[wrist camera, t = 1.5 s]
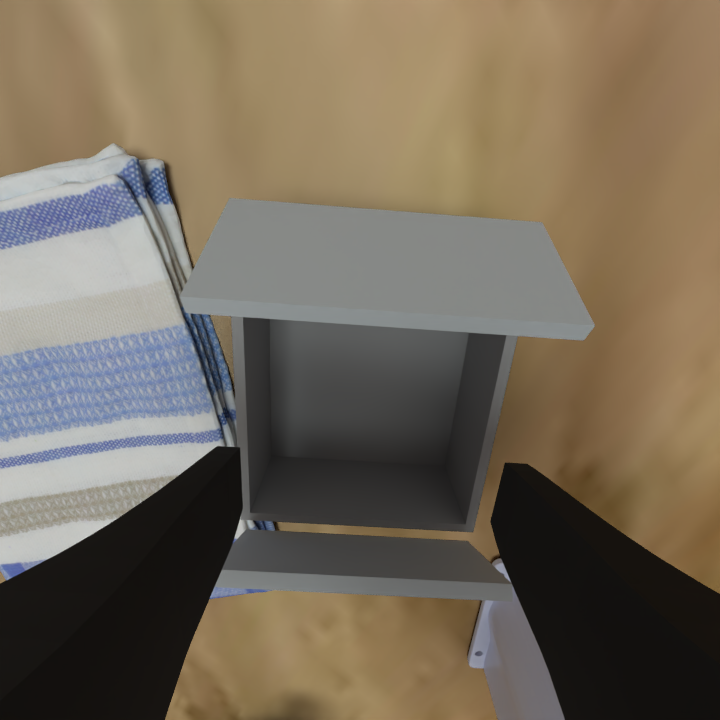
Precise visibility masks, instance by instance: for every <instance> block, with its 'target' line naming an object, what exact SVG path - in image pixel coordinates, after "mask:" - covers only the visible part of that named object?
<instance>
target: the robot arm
mask: <svg viewBox="0 0 720 720" xmlns="http://www.w3.org/2000/svg"><path fill="white" fill-rule="evenodd" d="M242 510H243V498H242V477H241V455H240V447H226V446H217V447H215V448H214V449H212V450H211V451H210V452H208V453H207V454H206V455H205V456H203V457H202V458H201V459H199V460H198V461H197V462H195V463H194V464H193V465H192V466H190V467H189V468H188V469H186V470H185V471H184V472H182V473H181V474H180V475H178V476H177V477H176V478H174V479H173V480H172V481H170V482H169V483H168V484H166V485H165V486H164V487H162V488H161V489H160V490H158V491H157V492H156V493H154V494H153V495H151V496H150V497H148V498H147V499H145V500H144V501H142V502H141V503H139V504H138V505H137V506H135V507H134V508H132V509H131V510H129V511H128V512H126V513H125V514H123V515H122V516H120V517H119V518H117V519H116V520H114V521H113V522H111V523H110V524H108V525H106V526H105V527H103V528H102V529H100V530H98V531H97V532H95V533H93V534H92V535H90V536H88V537H87V538H85V539H83V540H81V541H80V542H78V543H76V544H75V545H73V546H71V547H69V548H68V549H66V550H64V551H62V552H60V553H59V554H57V555H55V556H53V557H51V558H49V559H47V560H45V561H43V562H41V563H39V564H37V565H36V566H34V567H32V568H30V569H28V570H26V571H24V572H22V573H20V574H18V575H16V576H14V577H12V578H10V579H8V580H6V581H4V582H3V583H1V584H0V720H165V717H166V714H167V711H168V708H169V705H170V702H171V699H172V696H173V693H174V690H175V687H176V684H177V681H178V678H179V675H180V672H181V669H182V666H183V663H184V660H185V657H186V654H187V652H188V649H189V647H190V644H191V641H192V639H193V636H194V634H195V631H196V629H197V627H198V624H199V622H200V620H201V617H202V615H203V613H204V610H205V608H206V606H207V603H208V601H209V599H210V596H211V594H212V592H213V589H214V587H215V585H216V582H217V580H218V578H219V575H220V573H221V571H222V568H223V566H224V564H225V561H226V559H227V557H228V554H229V552H230V549H231V547H232V544H233V541H234V538H235V534H236V531H237V528H238V524H239V521H240V517H241V514H242ZM491 525H492V529H493V532H494V536H495V540H496V543H497V547H498V550H499V553H500V556H501V558H500V559H496V560H494V561H493V563H492V565H493V566H494V567H495V568H496V569H497V570H498V571H499V572H500V573H501V574H502V575H503V576H504V577H505V578H506V579H508V580H509V581H510V582H511V583H512V593H513V602H509V601H489V600H482V603H481V607H480V611H479V615H478V619H477V623H476V626H475V630H474V634H473V638H472V642H471V646H470V650H469V653H468V657H467V660H468V664H469V665H470V666H471V667H472V668H484V672H485V675H486V679H487V683H488V686H489V690H490V693H491V697H492V701H493V704H494V708H495V711H496V715H497V719H498V720H720V594H719V593H717V592H715V591H714V590H712V589H710V588H708V587H707V586H705V585H703V584H701V583H700V582H698V581H696V580H695V579H693V578H692V577H690V576H688V575H687V574H685V573H683V572H682V571H680V570H678V569H677V568H675V567H673V566H672V565H670V564H668V563H667V562H665V561H664V560H662V559H660V558H659V557H657V556H656V555H654V554H653V553H651V552H650V551H648V550H646V549H645V548H644V547H642V546H641V545H639V544H638V543H636V542H635V541H633V540H632V539H630V538H629V537H627V536H626V535H624V534H623V533H621V532H620V531H619V530H617V529H616V528H614V527H613V526H612V525H610V524H609V523H607V522H606V521H604V520H603V519H602V518H600V517H599V516H598V515H596V514H595V513H593V512H592V511H591V510H589V509H588V508H587V507H585V506H584V505H583V504H581V503H580V502H579V501H577V500H576V499H575V498H573V497H572V496H571V495H569V494H568V493H567V492H565V491H564V490H563V489H561V488H560V487H559V486H557V485H556V484H555V483H553V482H552V481H551V480H549V479H548V478H547V477H545V476H544V475H543V474H541V473H540V472H538V471H537V470H536V469H534V468H533V467H531V466H530V465H528V464H520V463H505V465H504V469H503V473H502V477H501V481H500V485H499V489H498V493H497V497H496V501H495V505H494V509H493V513H492V517H491Z"/></svg>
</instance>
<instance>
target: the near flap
mask: <svg viewBox="0 0 720 720" xmlns="http://www.w3.org/2000/svg"><path fill="white" fill-rule="evenodd" d="M180 299H181V302H182V304H183V307H184V309H185V312H186V313H192V314H207V315H221V316H236V317H250V318H265V319H279V320H294V321H308V322H323V323H337V324H352V325H366V326H381V327H395V328H410V329H424V330H439V331H453V332H468V333H482V334H497V335H511V336H526V337H540V338H555V339H569V340H584V339H585V338H586V337H587V335H588V334H589V333H590V332H591V330H592V329H593V328H594V326H595V325H594V323H593V321H592V319H591V317H590V315H589V313H588V311H587V309H586V307H585V305H584V303H583V301H582V299H581V297H580V295H579V294H578V292H577V290H576V288H575V286H574V284H573V282H572V280H571V278H570V276H569V274H568V272H567V270H566V268H565V266H564V264H563V262H562V260H561V258H560V256H559V254H558V252H557V250H556V249H555V247H554V245H553V243H552V241H551V239H550V237H549V235H548V233H547V231H546V229H545V227H544V225H543V223H542V222H531V221H518V220H505V219H493V218H480V217H467V216H454V215H441V214H428V213H415V212H403V211H390V210H377V209H364V208H351V207H338V206H326V205H313V204H300V203H287V202H274V201H261V200H248V199H236V198H229V200H228V202H227V204H226V206H225V208H224V210H223V212H222V214H221V216H220V218H219V220H218V222H217V224H216V226H215V228H214V230H213V232H212V234H211V236H210V238H209V240H208V242H207V244H206V245H205V247H204V249H203V251H202V253H201V255H200V257H199V259H198V261H197V263H196V265H195V267H194V269H193V271H192V273H191V275H190V277H189V279H188V281H187V283H186V285H185V287H184V289H183V291H182V293H181V295H180Z"/></svg>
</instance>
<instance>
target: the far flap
mask: <svg viewBox="0 0 720 720" xmlns="http://www.w3.org/2000/svg"><path fill="white" fill-rule="evenodd" d="M215 587H221V588H241V589H262V590H282V591H303V592H324V593H344V594H365V595H386V596H406V597H427V598H447V599H468V600H489V601H509V602H513V593H512V583H511V582H510V581H509V580H508V579H506V578H505V577H504V576H503V575H502V574H501V573H500V572H499V571H498V570H497V569H496V568H495V567H494V566H493V565H492V564H491V563H490V562H489V561H488V560H487V559H486V558H485V557H484V556H483V555H482V554H480V553H479V552H478V551H477V550H476V549H475V548H474V547H473V546H472V545H471V544H470V543H469V542H468V541H459V540H440V539H421V538H402V537H383V536H364V535H346V534H327V533H308V532H289V531H270V530H251V529H246V530H245V531H244V532H243V533H242V534H241V535H240V537H239V538H238V539H237V540H236V541H235V542H234V543H233V544H232V547H231V549H230V552H229V554H228V557H227V559H226V561H225V564H224V566H223V568H222V571H221V573H220V575H219V578H218V580H217V582H216V585H215Z"/></svg>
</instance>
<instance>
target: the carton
mask: <svg viewBox="0 0 720 720" xmlns="http://www.w3.org/2000/svg"><path fill="white" fill-rule="evenodd" d="M231 322H232V343H233V363H234V384H235V405H236V426H237V447H240V455H241V477H242V498H243V510H242V514H241V520H254V521H273V522H292V523H310V524H329V525H347V526H366V527H385V528H403V529H422V530H441V531H459V532H473V531H474V527H475V522H476V518H477V513H478V509H479V505H480V500H481V496H482V491H483V487H484V483H485V478H486V474H487V469H488V465H489V461H490V456H491V452H492V447H493V443H494V439H495V434H496V430H497V425H498V421H499V417H500V412H501V408H502V403H503V399H504V395H505V390H506V386H507V381H508V377H509V373H510V368H511V364H512V359H513V355H514V351H515V346H516V342H517V337H518V336H511V335H497V334H482V333H468V332H453V331H439V330H424V329H410V328H395V327H381V326H366V325H352V324H337V323H323V322H308V321H294V320H279V319H265V318H250V317H236V316H231Z"/></svg>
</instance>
